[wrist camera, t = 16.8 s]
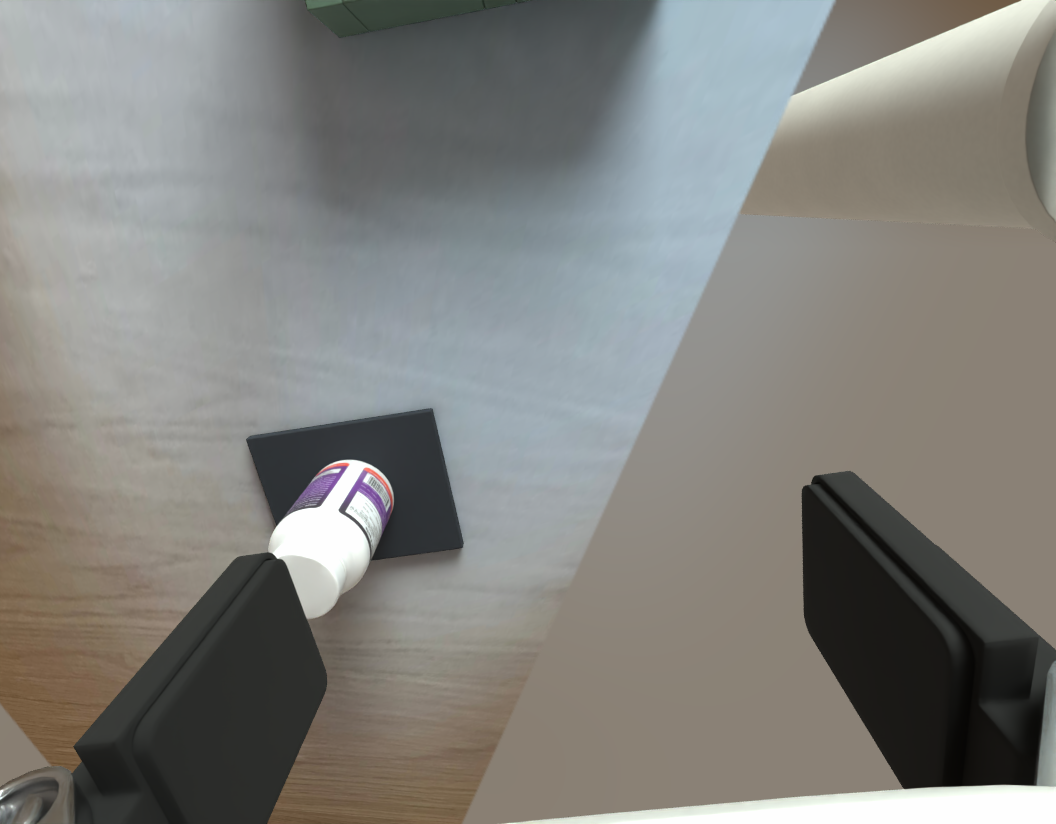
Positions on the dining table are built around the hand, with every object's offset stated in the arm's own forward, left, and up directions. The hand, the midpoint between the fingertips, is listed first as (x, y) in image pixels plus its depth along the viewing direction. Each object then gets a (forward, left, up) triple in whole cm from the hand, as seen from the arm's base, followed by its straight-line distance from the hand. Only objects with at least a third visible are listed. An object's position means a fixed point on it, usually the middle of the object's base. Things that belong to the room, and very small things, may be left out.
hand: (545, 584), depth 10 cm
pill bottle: (+14, +9, -25) cm, 30 cm away
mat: (+13, +10, -26) cm, 30 cm away
